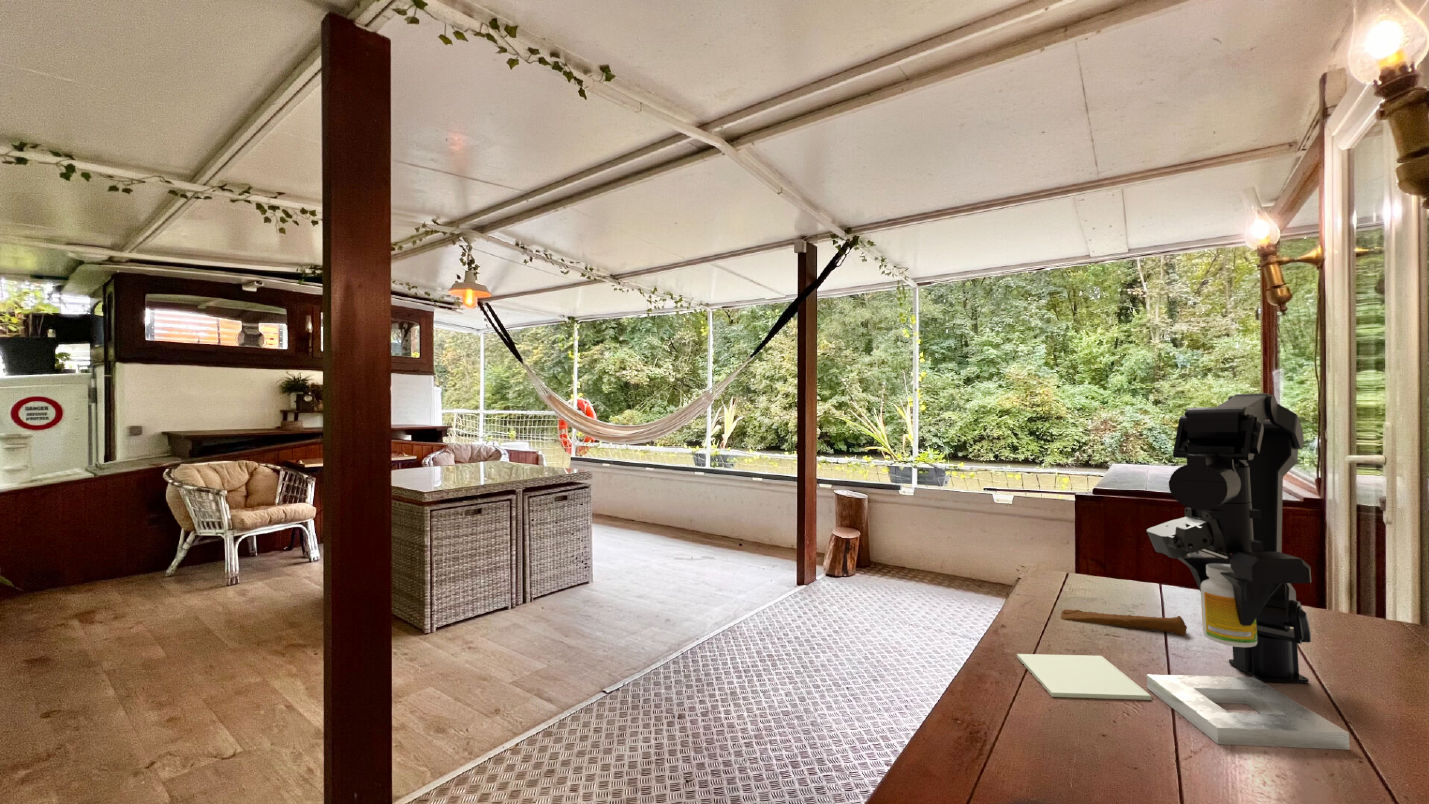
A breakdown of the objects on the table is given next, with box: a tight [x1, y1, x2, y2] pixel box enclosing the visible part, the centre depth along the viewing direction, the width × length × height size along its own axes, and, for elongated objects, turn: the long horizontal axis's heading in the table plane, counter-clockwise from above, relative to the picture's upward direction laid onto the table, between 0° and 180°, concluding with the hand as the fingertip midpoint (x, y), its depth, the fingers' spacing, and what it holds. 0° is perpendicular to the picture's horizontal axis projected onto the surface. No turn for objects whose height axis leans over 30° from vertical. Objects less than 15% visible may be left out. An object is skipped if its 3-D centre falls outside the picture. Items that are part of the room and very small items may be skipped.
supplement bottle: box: [1200, 563, 1257, 647], centre depth 75 cm, size 5×5×10 cm
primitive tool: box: [1060, 609, 1188, 637], centre depth 107 cm, size 19×6×4 cm, turn 56°
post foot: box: [1146, 674, 1351, 751], centre depth 75 cm, size 14×14×2 cm
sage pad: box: [1016, 653, 1152, 701], centre depth 87 cm, size 13×13×1 cm
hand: (1228, 617), depth 75 cm, fingers closed on supplement bottle, 5 cm apart
